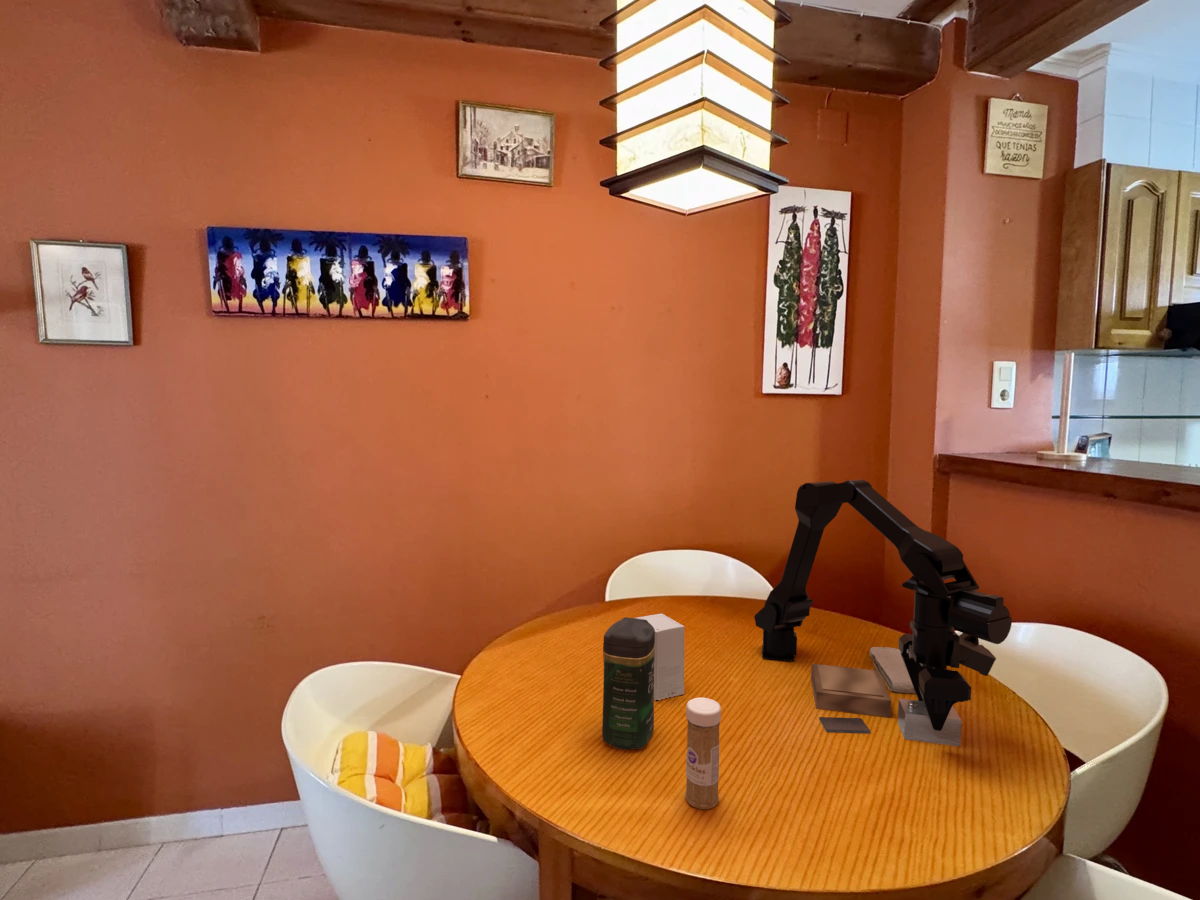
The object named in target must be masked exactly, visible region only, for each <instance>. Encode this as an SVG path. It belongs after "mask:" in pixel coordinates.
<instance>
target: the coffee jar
mask: <svg viewBox="0 0 1200 900" xmlns="http://www.w3.org/2000/svg"><path fill="white" fill-rule="evenodd" d="M636 618H637V617H627V616H625V617H623V618H622V619H619V620H618V621H616V622H615V623H613V624H611V625H610V626H609V628H608V629H607V630H606V631H605V633H604V635H603V643H602V644H603V645H602V646H603V647H602V655H603V690H602V691H603V694H602V695H603V697H602V719H601V720H602V723H601V725H602V727H601V728H602V729H601V737H602V740H603V742H605V743H606V744H608V745H610V746H612V747H613V748H616V749H618V750H624V749H625V750H626V751H628V750H638V749H643V748H645V746H647V744H648V743H649V742H650V740H651V738H652V735H653V733H654V727H655V700H654V661H655V660H654V658H655V629H654V627H653V626H652V625H651V624H650V623H649V622H648V621H647V620H644V619H636Z"/></svg>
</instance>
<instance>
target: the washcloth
mask: <svg viewBox="0 0 1200 900" xmlns="http://www.w3.org/2000/svg"><path fill="white" fill-rule="evenodd" d="M869 656H870V659H871V661H872V663H873V666H874V668H875V670H878V671H879V674H880V676H881V678H882V681H883V682H884V684H885V685H886V687H887V688H888V690H889V691H891V692H894V693H899V694H901V693H902V694H910V693H912V694H916V693H915V690H914V687H913V685H912V682H911V679H910V677H909V674H908V672H907V669H906V666H905V664H904V661H903V659H902V656H901V651H900V650H899V648H895V647H894V648H893V647H888V646H884V647H881V646H877V647H876V646H872V647H871V648H870V650H869Z"/></svg>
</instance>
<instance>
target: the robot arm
mask: <svg viewBox="0 0 1200 900" xmlns="http://www.w3.org/2000/svg"><path fill="white" fill-rule="evenodd" d="M846 503H847V504H849V505H850V506H851V507H852V508H853V509H854V510H855V511H856V512H857V513H859V514H860V515H861V516H862V517H863V518H864V519H865V520H866V521H867V522H868V523H870V524H871V525H872V527H874V528H875V529H876V530H877V531H878V532H879V533H881V535H883V537H885V538H886V539H887V540H888V541H889V542H891V544H893V546H894V547H895V548H896V549H897V551H898V555H899V558H900V561H901V562H902V563H903V565H905V567H906V568H907V570H908V571H909V572H910V573H911V575H912V576H911V577H910V578H909V579H908V580H906V581H904V582H902V584H901V586H902V587H903V588H905V589H908V590H911V591H914V597H913V598H914V599H913V600H914V601H913V619H912V620H909V621H910V622H909V628H910V629H911V631H912V633H903V634H902V635H901V636H900V637H899V638H898V649H899V650H900V651H901V656H902V659H903V661H904V664H905V666H906V669H907V672H908V674H909V677H910V679H911V682H912V685H913V687H914V690H915V693H914V694H915V695H916V698H917V701H924V704H925V707H926V710H927V713H928V716H929V719H930V721H931V724H932V727H933V729H934V730H937V731H941V730H942V728H943V726H944V723H945V721H946V719H947V716H948V714H949V712H950V710H951V708H952V706H953V707H954V705H955V704H957V703H965V702H969V701H971V699H972V687H971V685H970V684H969V682H968V680H966V678H965V677H964V676H963V674H961V672H959V671H958V670H951V669H950V670H949V669H948V667H950V668H952V669H960V665H962V666H964V667H966V668H968V669H970V670H973V671H976V672H978V673H979V675H982V676H985V677H988V675H989V674H990V673H991V672H990V671H991V670H992V668H993V666H994V663H995V662H996V660H997V657H996V656H995V655H994V654H993V653H992V651H990V650H989V649H988V648H987V647H985V646H984V645H983V644H980V642H979V640H982V641H985V642H989V643H991V644H993V645H999V644H1000V645H1001V643H1003V642H1004V641H1006V640H1007V637H1009V634H1010V632H1011V628H1012V623H1013V618H1012V617H1011V613H1010V611H1009V608H1007V606H1005V605H1004V601H1005V600H1004V599H1005V598H1004V596H1000V595H996V594H989V593H984V592H981V591H978V590H980V586H979V584H978V583H977V581H976V579H975V578H974V576H973V575H972V573H971V571H970V569H969V567H968V566H967V565H966V562H965V561H964V554H963V553H962V550H960V549H959V548H958V546H956V545H955V544H953V543H951V542H950V541H948V540H947V539H945V538H943V537H942V536H940V535H939V534H938V535H937V534H935V533H933V532H930V531H927V530H925V529H923V528H921V527H919V526H918V525H917V524H915V522H913V521H912V520H911V519H910V518H909V517H908V516H906V515H905V514H903V512H902V511H900V510H899V509H898V508H896V506H894V505H893V504H892V503H891V502H889V501H888V499H886V498H885V497H884V496H882V495H881V494H880V493H879V492H878V491H877V490H875V489H874V488H873V486H872V484H871V483H870V482H869V481H867V480H865V479H852V480H845V481H843V482H839V483H837V482H835V481H831V480H830V481H829V480H826V481H816V482H805V483H803V484H801V485H799V487H798V489H797V491H796V498H795V503H794V504H795V505H794V511H795V512H796V516H797V519H798V523H797V527H796V529H795V533H794V536H793V539H792V543H791V546H790V550H789V553H788V556H787V559H786V563H785V567H784V570H783V574H782V576H781V580H780V582H779V583H778V584H777V585H776V586H774V588H773V589H772V590H771V591H769V593H768V596H767V598H766V601H764V602H765V603H764V605H763V607H762V608H761V609H760V610H759V611H758V612H757V613H755V615H754V617H753V618H754V622H755V626H756V627H758V628H759V629H762V645H761V658H762V659H766V660H775V661H783V662H784V661H785V662H786V661H787V662H794V661H795V656H797V649H798V647H797V644H798V636H797V632H795V628H797V627H798V628H799V627H802V624H803V622H804V620H805V619H806V617H810V611H811V607H812V605H813V603H814V600H813V598H810V597H809V596H808V592H807V585H808V581H809V579H810V575H811V572H812V568H813V565H814V563H815V559H816V556H817V553H818V550H819V546H820V543H821V540H822V536H823V534H824V531H825V528H826V527H827V526H828V525H829V524H830V523H831V522H832V521H833V520H834V519H835V518H836V517H837V516H838V513H839V511H840V509H841V507H842V506H843V504H846ZM950 579H954V580H953V581H949V582H944V581H945V580H950ZM956 631H957V632H959V633H961V634H958V633H957V632H956Z"/></svg>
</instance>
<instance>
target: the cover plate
mask: <svg viewBox="0 0 1200 900" xmlns="http://www.w3.org/2000/svg"><path fill="white" fill-rule="evenodd" d="M818 721H819V722H820V724H821V725H822V728H823V729H824V731H825V732H826V733H838V734H840V733H841V734H865V735H866V734H869V735H870V734H871V730H870V728H869V727H868V725H867V724H866V723H865V722H864V720H863V718H861V717H832V716H830V717H829V716H826V717H825V716H819V717H818Z"/></svg>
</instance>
